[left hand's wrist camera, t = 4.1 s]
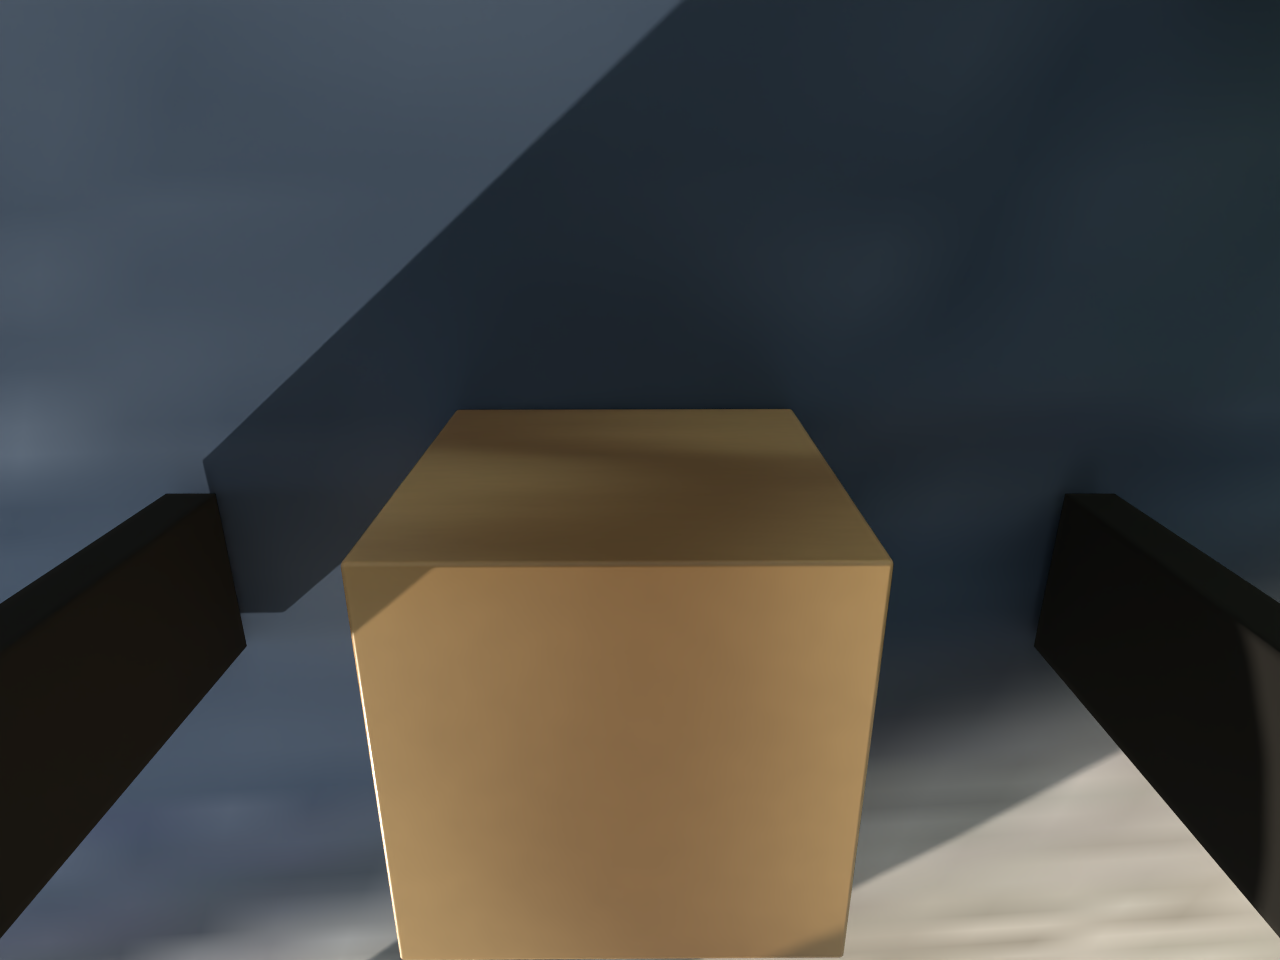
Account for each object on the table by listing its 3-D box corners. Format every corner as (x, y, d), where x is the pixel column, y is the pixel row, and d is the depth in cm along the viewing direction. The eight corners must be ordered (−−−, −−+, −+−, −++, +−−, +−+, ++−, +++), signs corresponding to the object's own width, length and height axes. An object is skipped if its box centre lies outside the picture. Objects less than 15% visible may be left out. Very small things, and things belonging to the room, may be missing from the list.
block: (480, 690, 14) (399, 962, 9) (455, 409, 12) (337, 563, 7) (772, 690, 14) (844, 960, 9) (792, 408, 12) (896, 561, 7)
